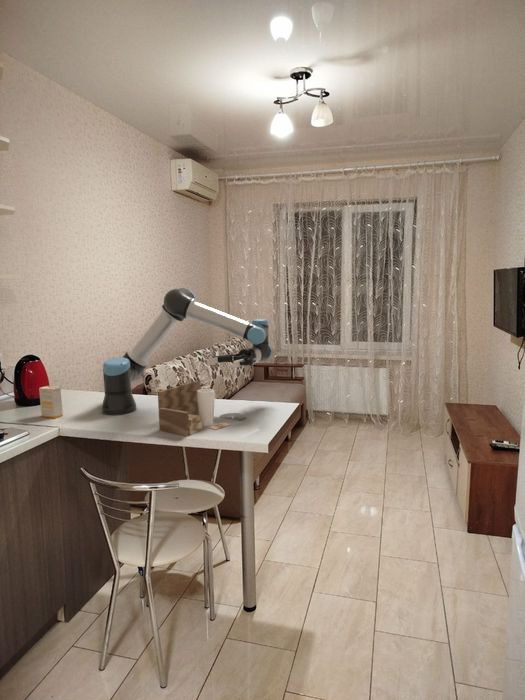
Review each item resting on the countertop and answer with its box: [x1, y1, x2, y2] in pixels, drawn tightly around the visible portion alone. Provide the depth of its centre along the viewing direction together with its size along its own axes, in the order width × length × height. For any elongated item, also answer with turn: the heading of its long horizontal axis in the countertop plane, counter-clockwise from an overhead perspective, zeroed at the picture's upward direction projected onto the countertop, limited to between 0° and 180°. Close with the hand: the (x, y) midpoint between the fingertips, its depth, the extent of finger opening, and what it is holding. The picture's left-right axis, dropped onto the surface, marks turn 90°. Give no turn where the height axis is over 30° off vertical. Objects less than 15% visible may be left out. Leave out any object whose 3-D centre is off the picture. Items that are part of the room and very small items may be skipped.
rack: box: [157, 380, 204, 437], centre depth 188 cm, size 24×15×16 cm, turn 148°
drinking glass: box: [197, 388, 215, 427], centre depth 189 cm, size 7×7×15 cm
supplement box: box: [38, 385, 64, 419], centre depth 208 cm, size 8×5×13 cm, turn 65°
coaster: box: [218, 412, 246, 422], centre depth 202 cm, size 11×11×1 cm
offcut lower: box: [189, 422, 203, 436], centre depth 181 cm, size 7×6×3 cm
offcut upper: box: [188, 414, 200, 426], centre depth 180 cm, size 6×5×2 cm
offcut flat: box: [208, 422, 231, 431], centre depth 186 cm, size 8×4×2 cm, turn 136°
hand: (220, 363), depth 194 cm, fingers open, 13 cm apart
